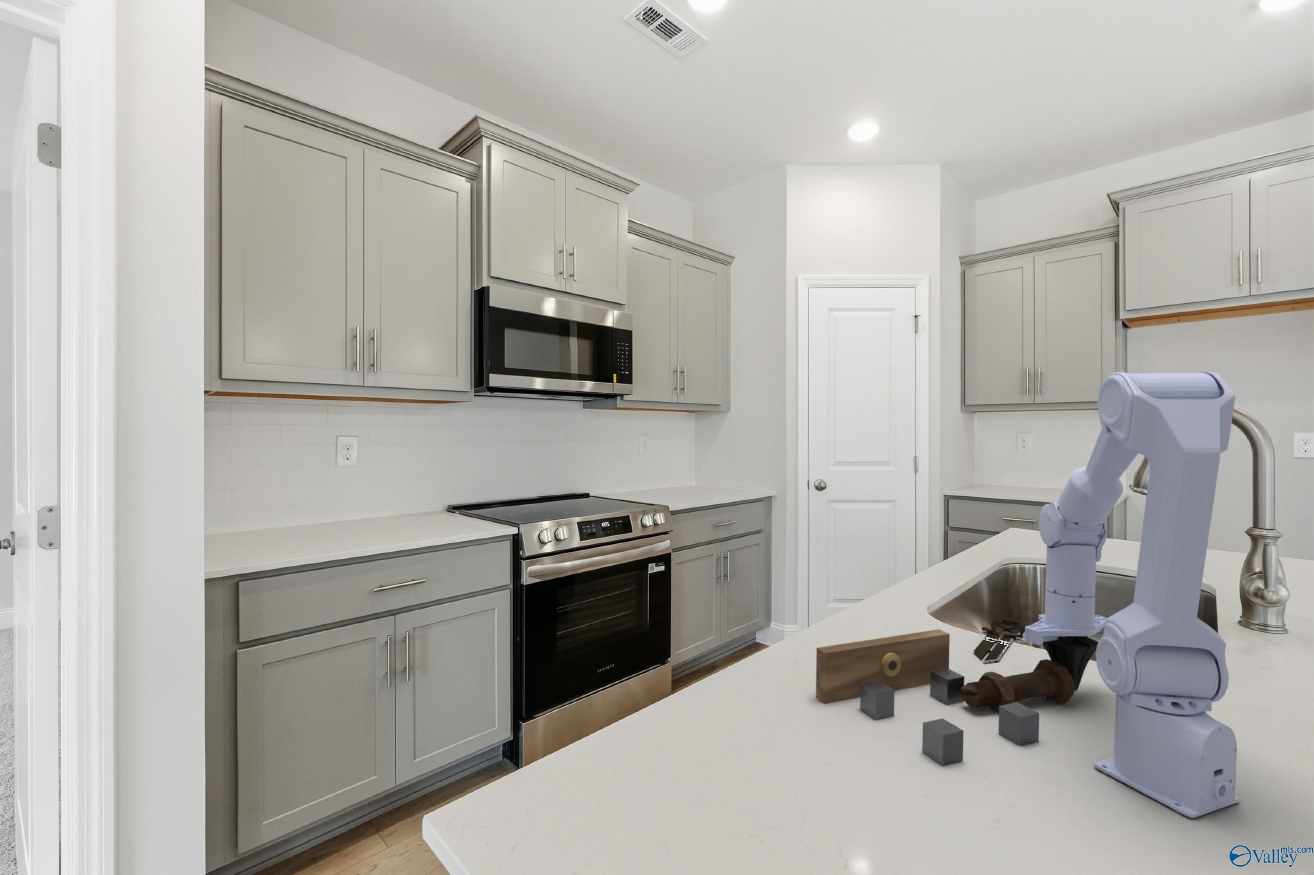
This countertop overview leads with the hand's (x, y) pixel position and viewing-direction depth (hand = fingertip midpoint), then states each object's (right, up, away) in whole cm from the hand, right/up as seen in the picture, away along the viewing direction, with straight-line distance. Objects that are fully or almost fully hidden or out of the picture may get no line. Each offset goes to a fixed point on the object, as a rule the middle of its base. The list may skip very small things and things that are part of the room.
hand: (1067, 687), depth 85 cm
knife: (+3, -1, +21) cm, 22 cm away
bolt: (-9, -2, -2) cm, 9 cm away
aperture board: (-25, -1, +3) cm, 25 cm away
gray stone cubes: (-21, -2, -8) cm, 22 cm away
